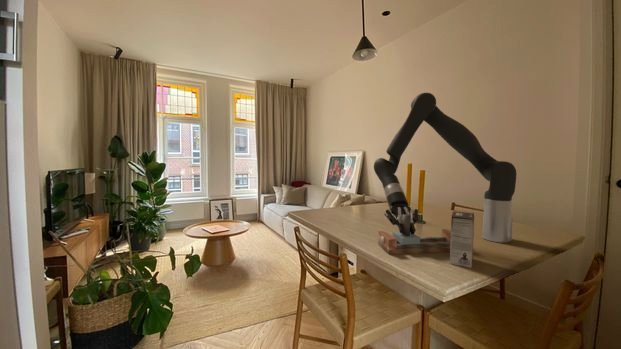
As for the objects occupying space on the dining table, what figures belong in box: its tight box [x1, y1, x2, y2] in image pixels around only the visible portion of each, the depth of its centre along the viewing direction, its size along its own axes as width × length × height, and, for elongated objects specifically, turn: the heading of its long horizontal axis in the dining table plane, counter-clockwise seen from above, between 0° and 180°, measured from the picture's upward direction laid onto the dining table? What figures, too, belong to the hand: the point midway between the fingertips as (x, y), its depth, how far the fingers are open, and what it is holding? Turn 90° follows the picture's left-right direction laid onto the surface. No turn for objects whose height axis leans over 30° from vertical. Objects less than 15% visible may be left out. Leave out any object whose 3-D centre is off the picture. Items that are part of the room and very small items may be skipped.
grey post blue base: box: [392, 214, 421, 245], centre depth 94 cm, size 7×8×10 cm
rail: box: [377, 228, 451, 255], centre depth 95 cm, size 31×10×6 cm, turn 96°
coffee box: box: [449, 211, 475, 269], centre depth 83 cm, size 9×6×16 cm
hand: (408, 233), depth 92 cm, fingers closed on grey post blue base, 3 cm apart
